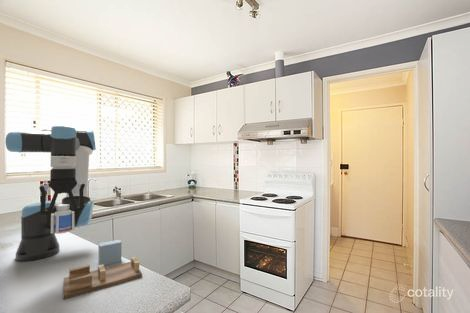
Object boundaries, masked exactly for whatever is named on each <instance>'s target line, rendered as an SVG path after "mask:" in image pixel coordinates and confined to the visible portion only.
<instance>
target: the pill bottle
mask: <svg viewBox="0 0 470 313" xmlns="http://www.w3.org/2000/svg"><path fill="white" fill-rule="evenodd" d="M69 208H70V205H69V204H63V205H57V206H56V210H57V211H56V212H55V213H54V233H55V235H56V234H65V233H69V232H71V231H73V230H72V211H71V210H69Z"/></svg>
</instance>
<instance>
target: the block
mask: <svg viewBox="0 0 470 313" xmlns="http://www.w3.org/2000/svg"><path fill="white" fill-rule="evenodd" d="M119 261H120V262H122V241H121V239H115V240H110V241H109V240H108V241H105V242H100V243H99V242H98V265H102V264H103V265H104V266H108V265H110V264H115V262H116V263H119Z"/></svg>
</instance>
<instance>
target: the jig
mask: <svg viewBox="0 0 470 313" xmlns="http://www.w3.org/2000/svg"><path fill="white" fill-rule="evenodd" d="M97 268H98V269H96V270H95V269H94V270H91V266H90V264H87V265H82V266H77V267H74V268H70V269H69V270H68V276H66V277H64V278H63V300H66V299H70V298H74V297H76V296H80V295H84V294H87V293H91V292H94V291H97V290H101V289H105V288H108V287H111V286H114V285H115V286H116V285H118V284H123V283H125V282H129V281H132V280H133V281H134V280H136V279H139V278H142V277H143V273H142V271H141V270H140V261H139V259H138V258H137V257H136V256H132V257H130V261H128V262H124V263H119V264H116V265H113V266H108V267H105V265H103V264H102V265H99V264H98V267H97Z"/></svg>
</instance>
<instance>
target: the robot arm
mask: <svg viewBox="0 0 470 313" xmlns="http://www.w3.org/2000/svg"><path fill="white" fill-rule="evenodd" d="M95 140H96V138H95V133H94V131H93V130H92V129H86V128H83V129H82V128H76V127H74V126H69V125H52V127H51V128H48V129H42V130H40V131H35V132H34V131H31V132H30V131H29V132H20V131H12V132H11V131H10V132H8V133H7V134H6V135H5V148H6V149H7V151H9V152H12V153H50V167H51V168H50V172H49V174H50V180H49V182H48V184H44V185H43V184H42V185H40V186H39V190H40V192H41V193H40V202H36V203H32V204H31V203H30V204H29V205H25V206H24V207H23V208H22V210H21V216H20V218H21V222H20V226H21V227H20V228H21V229H20V230H21V231H20V234H21V235H20V236H21V237H20V238H21V239H20V242H19V245H18V247H17V249H16V252H15V260H16V261H18V262H29V261H30V262H31V261H36V260H41V259H44V258H48V257H51V256H53V255H55V254H57V253H58V252H60V243H59V241H58V238H57V237H56V233H54V213H55V212H56V211H57V210H56V206H57V205H63V204H69V205H70V208H69V210H71V211H72V230H71V231H75V228H79V227H84V226H88V225H90V223H91V221H92V217H93V213H94V212H93V210H94V201H92V200H91V197H90V196H88V185H89V183H88V182H89V166H90V163H89V162H90V156H91V155H92V154H93V151H95V150H97V149H96V148H97V147H96V142H95ZM49 188H50V189H51V191H53V192H54V193H53V195H52V198H51V200H47V191H48V190H49ZM59 194H66V196H64V197H63V198H61V203H56V200H57V198H58V196H59Z"/></svg>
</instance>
